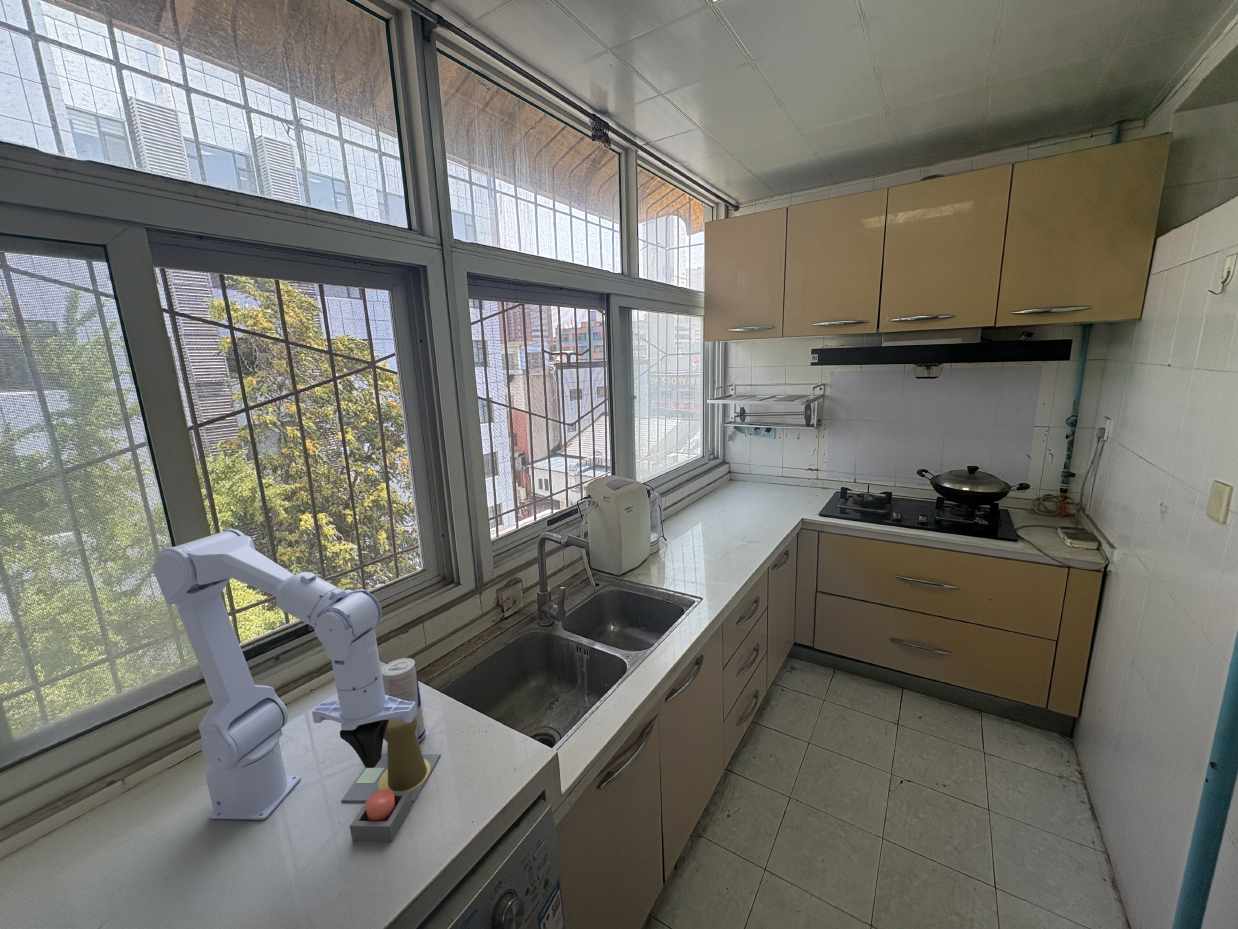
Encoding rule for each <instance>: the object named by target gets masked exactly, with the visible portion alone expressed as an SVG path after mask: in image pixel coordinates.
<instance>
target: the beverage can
mask: <svg viewBox="0 0 1238 929" xmlns="http://www.w3.org/2000/svg"><path fill="white" fill-rule="evenodd" d="M381 672H382V679H383V685H384V691H385V695H388V696H391V697H394V698H398V699H401V700H404V701H410V702H416V707H417V715H416V716H415V717H416V720H417V727H416V731H415V734H416V737H417V740H418V743H419V744H420V742H421V741H422V740H423V739H424V737H425V736H426V727H425V721H424V714H423V708H422V707H423V706H422V701H421V693H420V686H419V685H420V684H419V679H418V672H417V666H416V660H414V659H412V658H410V657H403V658H399V659H398V658H397V659H395V660H392V661H390V662H389V663H387V664H386V665H384V666H383V667H382V668H381Z"/></svg>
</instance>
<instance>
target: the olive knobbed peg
mask: <svg viewBox="0 0 1238 929" xmlns="http://www.w3.org/2000/svg"><path fill="white" fill-rule="evenodd" d="M416 727H417V720H416V717H415V718H414V719H413V720H412V722H411V723H405V722H404V720H389V722H388V725H387V728H386V731H385V735H384V739H383V741H385V742H386V744H387V746H386V748H387V754H388V787H389V788H390V789H391V790H393V791H405V790H409V789H411V788H413V787H415V786H416V785H417V784H419V783H420V782H421V781H422V780H423V779H424V777H425V775H426V773H427V768H426V765H425V762H424V759H423V756H422V754H423V752H422V750H421V747H420V742H419V743H418V740H417V737H416V734H415V731H416Z"/></svg>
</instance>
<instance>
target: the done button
mask: <svg viewBox="0 0 1238 929" xmlns="http://www.w3.org/2000/svg"><path fill="white" fill-rule="evenodd" d="M365 803H366V805H365V806H366V812H367V818H368V821H388V819H389V818H390V816H391V814H392V813H393V811H394V809H395V808H396V805H395V799H394V793H393V791H392V790H389V789H383V790H380V791H378V792H376V793H374V794H373V795H371V796H370V797H369V798H368V800H367V802H365Z"/></svg>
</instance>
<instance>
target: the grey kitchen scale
mask: <svg viewBox="0 0 1238 929" xmlns="http://www.w3.org/2000/svg"><path fill="white" fill-rule="evenodd" d="M422 756H423V759H424V762H425V765H426V768H427V773H426V775H425V777H424V779H423V780H422V781H421V782H420V783H419V784H417V785H416V786H415V787H413V788H411V789H409V790H405V791H410V792H411V798H412V804H414V803H416V801H417V798H418V797H419V796H420V794H421V792H422V790H423V789H424V787H425V784H426V783H427V781H428V779H429V778H430V776H431V775H432V772H433V770H434V768H435V767H436V766H437V764H438V762H439V759H440V758H441V754H439V753H438V754H435V753H434V754H429V753H428V754H425V753H422ZM383 789H389V790H391V789H390V788H389V787H388V753H382V756H381V759H380V761H379V762H378V763H377V765H376V766H375V767H374V768H365V767H364V768H363V769H362V771H361V773H360V774H359V775H358V777H357V778H356V779H355V781H354V782H353V783H352V785H351V786H350V787H349V789H348V790H347V791H346V793H345V794H344V796H343V797H342V798H341V801H340V802H341V803H366V801H367V800H368V798H369V797H370V795H371V794H372V792H373V791H380V790H383ZM392 791H393V790H392Z"/></svg>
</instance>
